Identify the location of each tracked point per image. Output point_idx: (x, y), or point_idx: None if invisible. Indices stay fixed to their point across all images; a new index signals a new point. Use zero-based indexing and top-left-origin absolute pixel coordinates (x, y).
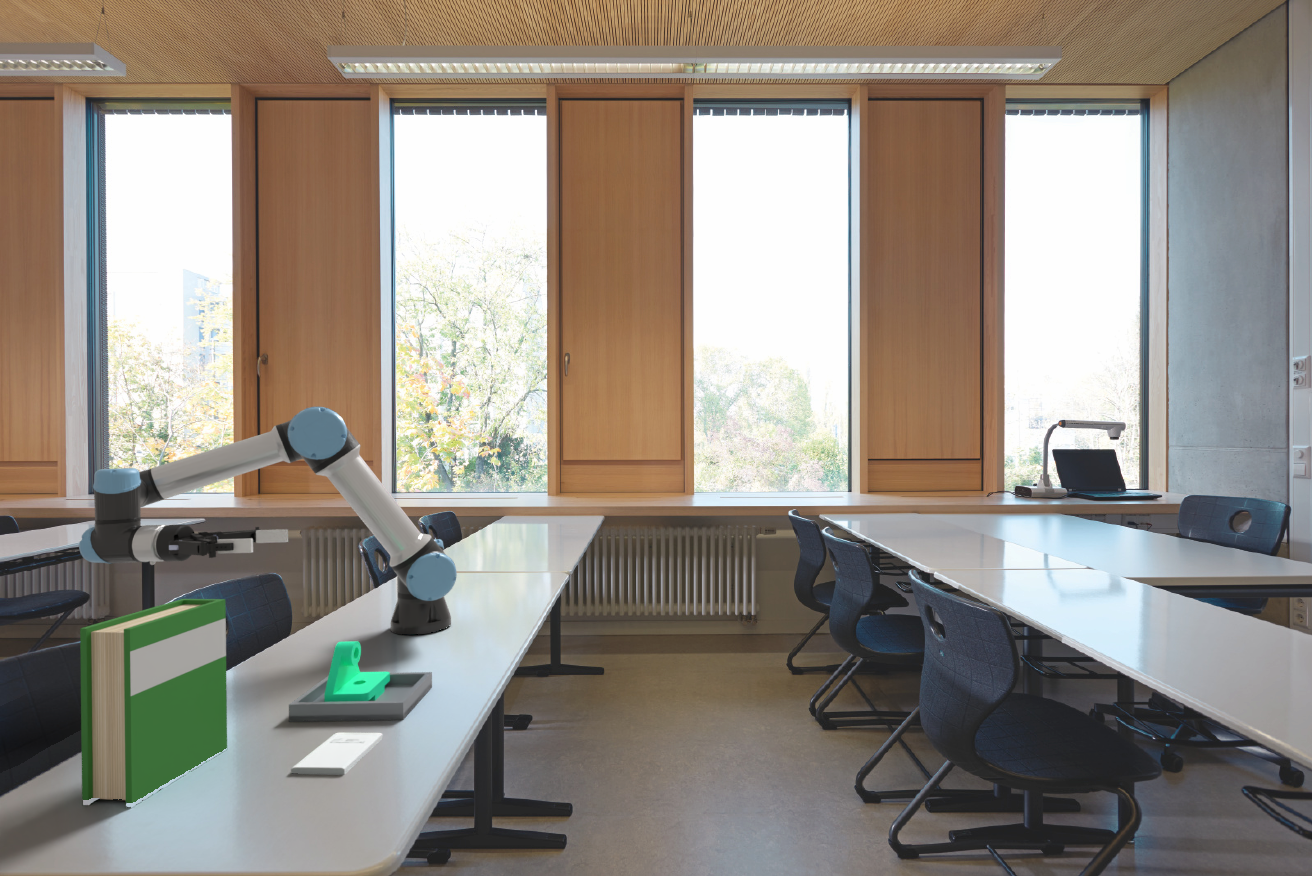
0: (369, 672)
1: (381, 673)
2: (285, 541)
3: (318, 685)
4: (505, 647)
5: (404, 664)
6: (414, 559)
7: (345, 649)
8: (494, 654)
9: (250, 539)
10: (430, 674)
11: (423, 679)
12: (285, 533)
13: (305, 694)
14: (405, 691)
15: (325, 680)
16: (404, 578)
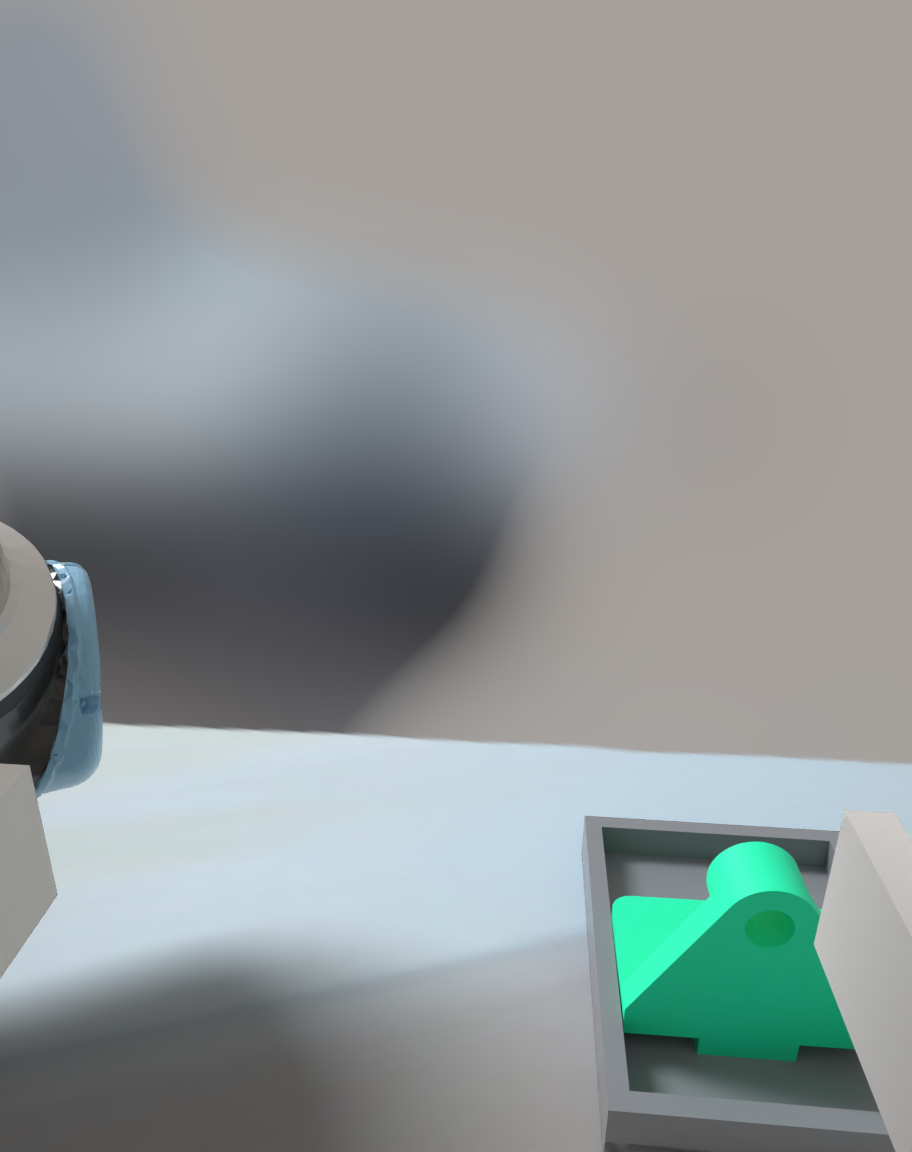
0: (624, 953)
1: (633, 916)
2: (51, 894)
3: (759, 1109)
4: (237, 752)
5: (324, 966)
6: (59, 622)
7: (801, 877)
8: (299, 767)
9: (896, 819)
10: (598, 818)
11: (651, 822)
12: (34, 810)
13: (873, 1121)
14: (667, 883)
15: (696, 1102)
16: (10, 744)
